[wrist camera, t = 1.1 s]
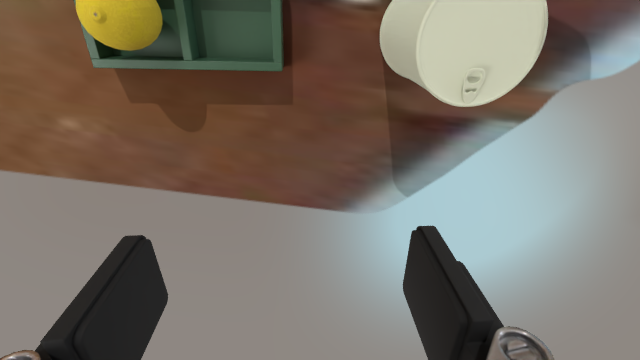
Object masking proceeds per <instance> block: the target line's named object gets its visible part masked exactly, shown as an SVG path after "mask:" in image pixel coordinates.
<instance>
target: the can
mask: <svg viewBox="0 0 640 360" xmlns="http://www.w3.org/2000/svg"><path fill="white" fill-rule="evenodd" d="M547 27H548V9H547V3H546V0H392V2H391V3H390V5H389V6H388V8H387V10H386V12H385V14H384V17H383V20H382V23H381V28H380V46H381V51H382V54H383V56H384V59H385V60H386V62H387V64H388V65H389V66H390V67H391V69H392V70H393V71H395V72H396V73H397V74H399V75H401V76H403V77H405V78H408V79H410V80H412V81H414V82H415V83H417V84H418V85H420V86H421V87H423V88H425V89H426V90H427V91H429V92H430V93H431V94H432V95H433V96H434V97H436V98H437V99H439V100H440V101H442V102H444V103H447V104H450V105H453V106H459V107H473V106H479V105H483V104H486V103H489V102H491V101H494V100H496V99H498V98H500V97H501V96H503V95H505V94H506V93H508V92H509V91H510V90H512V89H513V88H514V87H515V86H516V85H517V84H518V83H519V82H520V81H521V80H522V79H523V78H524V77H525V76H526V75H527V74H528V72H529V71H530V70H531V68H532V67H533V65H534V63H535V62H536V60H537V58H538V56H539V54H540V52H541V50H542V47H543V44H544V41H545V37H546V33H547Z"/></svg>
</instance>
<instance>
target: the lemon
mask: <svg viewBox="0 0 640 360" xmlns="http://www.w3.org/2000/svg"><path fill="white" fill-rule="evenodd" d="M76 10H77V14H78V17H79V19H80V21H81V23H82V25H83V26H84V28H85V29H86V30H87V32H88V33H89V34H90V35H92V36H93V37H94V38H95V39H96V40H98V41H100V42H101V43H103V44H104V45H107V46H110V47H112V48H115V49H120V50H128V51H131V50H138V49H143V48H145V47H147V46H149V45H151V44H152V43H153V42H154V41H155V40H156V39H157V38H158V36H159V34H160V32H161V28H162V14H161V10H160V7H159V5H158V3H157V1H156V0H76Z"/></svg>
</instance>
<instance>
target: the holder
mask: <svg viewBox="0 0 640 360" xmlns="http://www.w3.org/2000/svg"><path fill="white" fill-rule="evenodd" d="M156 1H157V3H158V5H159V7H160V10H161V14H162V28H161V32H160V34H159V36H158V38H157V39H156V40H155V41H154V42H153V43H152V44H151V45H149V46H147V47H145V48H143V49H138V50H131V51H128V50H120V49H115V48H112V47H110V46H107V45H104V44H103V43H101V42H100V41H98V40H96V39H95V38H94V37H93V36H92V35H90V34H89V33H88V32H87V30H86V29H85V28H84V26H83V25H82V23H81V21H80V23H81V27H82V30H83V33H84V37H85V40H86V43H87V47H88V50H89V53H90V57H91V60H92V63H93V67H94V68H132V69H186V70H240V71H282V70H283V67H284V53H283V16H282V0H156ZM74 3H75V7H76V0H74ZM79 20H80V19H79Z"/></svg>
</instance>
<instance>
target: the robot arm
mask: <svg viewBox="0 0 640 360" xmlns="http://www.w3.org/2000/svg"><path fill="white" fill-rule="evenodd" d="M403 291H404V295H405V297H406V300H407V303H408V306H409V308H410V311H411V314H412V317H413V319H414V322H415V325H416V327H417V330H418V333H419V336H420V338H421V341H422V343H423V346H424V349H425V352H426V355H427V357H428V360H554V357H553V355H552V353H551V351H550V350H549V349H548V347H547V346H546V345H545V344H544V343H543V342H542V341H541V340H540V339H538V338H537V337H536V336H535V335H533V334H531V333H530V332H528V331H526V330H523V329H520V328H517V327H510V326H509V327H504V326H503V324H502V323H501V321H500V320H499V318H498V317H497V315H496V313H495V312H494V310H493V309H492V307H491V306H490V304H489V303H488V301H487V300H486V298H485V297H484V295H483V294H482V292H481V291H480V289H479V287H478V286H477V284H476V283H475V281H474V280H473V278H472V276H471V275H470V273H469V272H468V270H467V269H466V267H465V266H464V265H463V263H461V262H460V261H456V259H455V257H454V256H453V254H452V253H451V251H450V249H449V248H448V246H447V245H446V243H445V241H444V240H443V238H442V237H441V235H440V233H439V232H438V230H437V229H436V227H434V226H418V227H417V230H414V231H412V234H411V239H410V245H409V251H408V257H407V264H406V269H405V275H404V281H403ZM167 300H168V293H167V290H166V287H165V284H164V281H163V277H162V274H161V271H160V269H159V265H158V262H157V259H156V256H155V252H154V249H153V246H152V243H151V241H150V240H149V239H146V237H144V236H143V235H138V236H125V237H123V238H122V239H121V241H120V242H119V243H118V244H117V246H116V247H115V248H114V249H113V251H112V252H111V254H110V255H109V256H108V257H107V259H106V260H105V261H104V262H103V263H102V265H101V266H100V267H99V268H98V270H97V271H96V272H95V274H94V275H93V276H92V277H91V278H90V280H89V281H88V282H87V284H86V285H85V286H84V287H83V289H82V290H81V291H80V292H79V294H78V295H77V296H76V297H75V299H74V300H73V301H72V302H71V304H70V305H69V306H68V307H67V309H66V310H65V311H64V313H63V314H62V315H61V317H60V318H59V319H58V320H57V321H56V323H55V324H54V325H53V326H52V328H51V329H50V330H49V331H48V333H47V334H46V335H45V336H44V338H43V339H42V340H41V344H40V345H39V346H38V347H37V349H36V350H35V351H33V350H22V351H18V352H14V353H11V354H9V355H6V356H4V357H2V358H0V360H141V358H142V356H143V354H144V352H145V349H146V347H147V345H148V343H149V341H150V339H151V336H152V334H153V332H154V330H155V328H156V326H157V323H158V321H159V319H160V317H161V315H162V313H163V311H164V308H165V306H166V304H167Z"/></svg>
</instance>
